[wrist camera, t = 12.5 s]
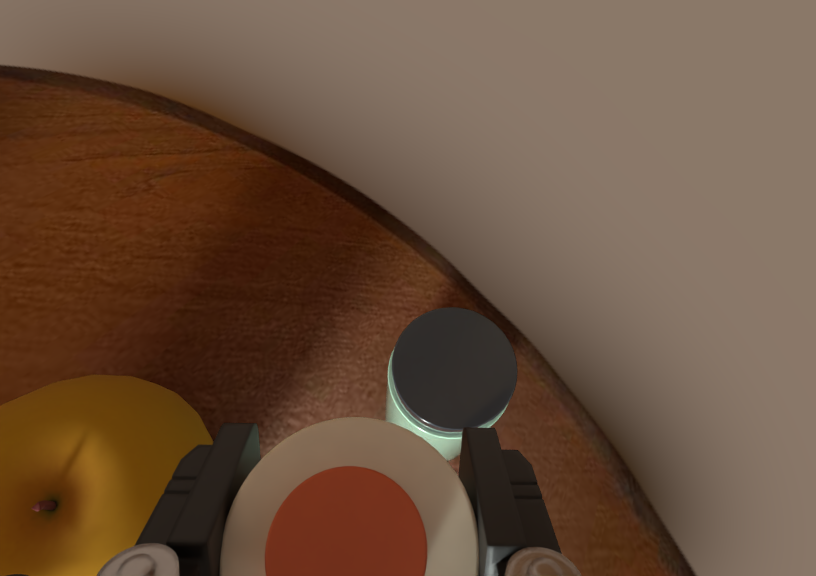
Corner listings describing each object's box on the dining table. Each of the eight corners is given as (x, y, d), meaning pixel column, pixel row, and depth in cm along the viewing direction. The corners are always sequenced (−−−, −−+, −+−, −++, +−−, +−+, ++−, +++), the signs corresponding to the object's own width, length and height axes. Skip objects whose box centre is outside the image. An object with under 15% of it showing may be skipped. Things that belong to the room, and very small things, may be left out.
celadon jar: (492, 395, 37) (540, 339, 26) (454, 480, 35) (488, 458, 24) (411, 354, 38) (424, 283, 27) (368, 435, 36) (364, 393, 25)
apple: (189, 670, 30) (89, 745, 20) (-24, 587, 31) (-225, 617, 21) (284, 438, 35) (243, 400, 25) (97, 373, 36) (-17, 311, 26)
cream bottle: (466, 503, 18) (540, 480, 10) (397, 664, 16) (414, 808, 8) (333, 433, 18) (294, 354, 10) (252, 580, 17) (127, 630, 8)
